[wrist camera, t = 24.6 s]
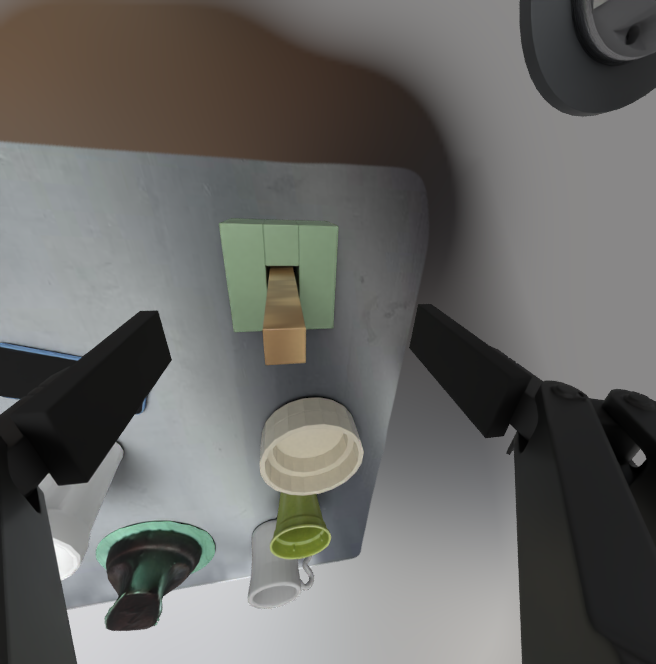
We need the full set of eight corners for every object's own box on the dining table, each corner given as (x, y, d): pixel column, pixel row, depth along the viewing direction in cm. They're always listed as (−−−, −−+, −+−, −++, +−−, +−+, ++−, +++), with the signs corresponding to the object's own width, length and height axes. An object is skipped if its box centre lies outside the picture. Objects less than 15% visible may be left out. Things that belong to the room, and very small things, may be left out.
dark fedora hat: (79, 529, 42) (214, 515, 47) (123, 526, 56) (222, 515, 61) (26, 676, 33) (198, 640, 38) (95, 627, 48) (212, 605, 53)
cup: (133, 422, 35) (64, 528, 24) (144, 471, 40) (90, 581, 28) (44, 423, 33) (-79, 541, 22) (66, 475, 38) (-27, 596, 26)
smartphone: (142, 416, 34) (-8, 397, 30) (145, 412, 35) (-1, 392, 30) (148, 372, 31) (-17, 343, 27) (150, 367, 32) (-9, 339, 28)
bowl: (322, 377, 37) (329, 406, 32) (367, 431, 44) (379, 462, 39) (242, 427, 39) (236, 463, 34) (297, 472, 46) (300, 507, 40)
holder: (327, 221, 28) (338, 226, 23) (324, 307, 33) (333, 328, 27) (230, 218, 26) (218, 223, 21) (241, 309, 31) (233, 332, 26)
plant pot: (304, 508, 51) (309, 563, 43) (261, 498, 47) (258, 555, 40) (332, 479, 48) (342, 532, 41) (289, 466, 45) (291, 521, 37)
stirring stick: (291, 258, 29) (306, 327, 13) (291, 277, 30) (306, 363, 14) (271, 258, 29) (262, 329, 13) (272, 277, 30) (265, 365, 14)
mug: (245, 541, 53) (238, 610, 44) (262, 514, 50) (259, 582, 41) (300, 545, 57) (304, 609, 48) (319, 521, 54) (328, 584, 45)
